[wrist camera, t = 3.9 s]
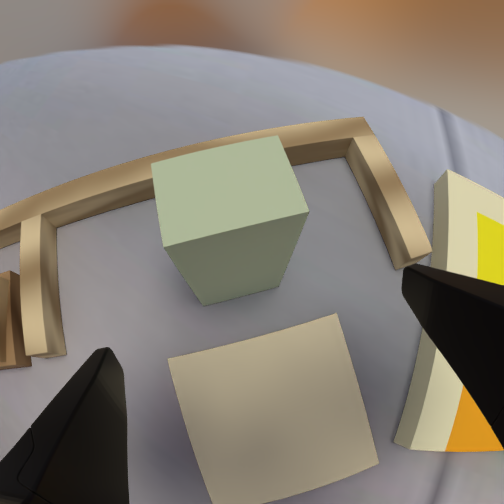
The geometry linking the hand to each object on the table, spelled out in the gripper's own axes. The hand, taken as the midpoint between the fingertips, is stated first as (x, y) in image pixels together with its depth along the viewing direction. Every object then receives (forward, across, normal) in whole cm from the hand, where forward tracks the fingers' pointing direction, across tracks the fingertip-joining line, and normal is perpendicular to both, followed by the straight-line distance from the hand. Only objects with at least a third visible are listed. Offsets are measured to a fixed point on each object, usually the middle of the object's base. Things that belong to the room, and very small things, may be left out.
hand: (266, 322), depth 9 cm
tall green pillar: (+12, 0, +4) cm, 12 cm away
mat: (+4, 0, +12) cm, 12 cm away
